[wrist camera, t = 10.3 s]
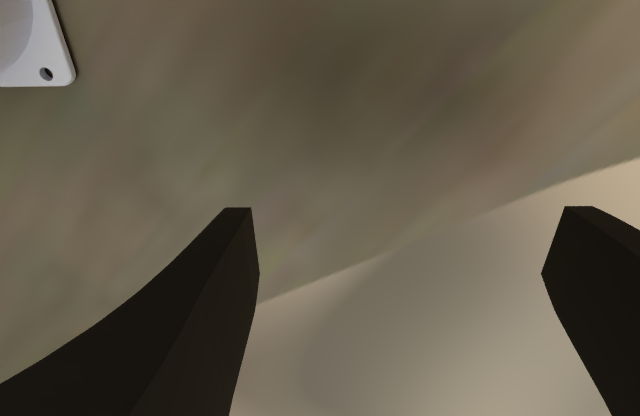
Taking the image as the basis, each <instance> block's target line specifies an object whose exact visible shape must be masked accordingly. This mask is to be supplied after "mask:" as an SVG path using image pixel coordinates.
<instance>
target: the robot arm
mask: <svg viewBox="0 0 640 416" xmlns="http://www.w3.org/2000/svg"><path fill="white" fill-rule="evenodd" d="M45 68H48V69H49V70H50V71H51V72H52V74H53V78H52V77H50V76H48V75H47V74H46V72H45ZM75 77H76V73H75V69H74V66H73V63H72V60H71V57H70V54H69V51H68V48H67V45H66V42H65V39H64V36H63V33H62V30H61V27H60V24H59V21H58V18H57V15H56V12H55V9H54V6H53V3H52V0H0V87H36V86H66V85H69V84H71V83H72V82H73V81H74V80H75ZM259 275H260V272H259V264H258V256H257V249H256V241H255V234H254V226H253V218H252V211H251V207H247V208H224V209H223V210H222V211H221V212H220V213H219V214H218V215H217V216H216V217H215V218H214V219H213V220H212V221H211V222H210V224H209V225H208V226H207V227H206V228H205V229H204V230H203V231H202V232H201V233H200V234H199V235H198V236H197V237H196V238H195V239H194V240H193V241H192V242H191V243H190V244H189V245H188V246H187V247H186V248H185V249H184V250H183V251H182V252H181V253H180V254H179V255H178V256H177V257H176V258H175V259H174V260H173V261H172V262H171V263H170V264H169V265H168V266H167V267H165V268H164V269H163V270H162V271H161V272H160V273H159V274H158V275H156V276H155V277H154V278H153V279H152V280H151V281H150V282H149V283H148V284H146V285H145V286H144V287H143V288H142V289H141V290H139V291H138V292H137V293H136V294H135V295H133V296H132V297H131V298H130V299H128V300H127V301H126V302H125V303H123V304H122V305H121V306H119V307H118V308H117V309H115V310H114V311H113V312H111V313H110V314H109V315H107V316H106V317H105V318H103V319H102V320H101V321H99V322H98V323H96V324H95V325H94V326H92V327H91V328H89V329H88V330H86V331H85V332H83V333H82V334H80V335H79V336H77V337H76V338H74V339H73V340H71V341H69V342H68V343H66V344H65V345H63V346H62V347H60V348H59V349H57V350H56V351H54V352H53V353H51V354H50V355H48V356H47V357H45V358H43V359H42V360H40V361H39V362H37V363H35V364H34V365H32V366H30V367H28V368H27V369H25V370H23V371H22V372H20V373H18V374H17V375H15V376H13V377H11V378H10V379H8V380H6V381H4V382H3V383H1V384H0V416H229V412H230V408H231V403H232V398H233V394H234V391H235V387H236V383H237V379H238V375H239V371H240V367H241V364H242V360H243V356H244V352H245V348H246V344H247V340H248V336H249V332H250V329H251V324H252V321H253V317H254V312H255V307H256V299H257V292H258V283H259ZM541 275H542V278H543V281H544V283H545V286H546V289H547V292H548V295H549V297H550V300H551V302H552V305H553V307H554V310H555V312H556V314H557V316H558V318H559V320H560V321H561V323H562V325H563V327H564V329H565V331H566V333H567V335H568V336H569V338H570V340H571V342H572V344H573V346H574V347H575V349H576V351H577V353H578V354H579V356H580V358H581V360H582V361H583V363H584V365H585V367H586V369H587V371H588V372H589V374H590V376H591V378H592V380H593V381H594V383H595V385H596V387H597V388H598V390H599V392H600V394H601V396H602V398H603V399H604V401H605V403H606V405H607V407H608V409H609V411H610V413H611V415H612V416H640V230H638V229H636V228H634V227H633V226H631V225H629V224H627V223H625V222H623V221H621V220H620V219H618V218H616V217H614V216H612V215H610V214H608V213H606V212H604V211H602V210H600V209H597V208H595V207H593V206H565V207H564V210H563V213H562V216H561V219H560V222H559V224H558V227H557V230H556V233H555V236H554V238H553V241H552V244H551V247H550V250H549V252H548V255H547V258H546V261H545V264H544V267H543V269H542V272H541Z"/></svg>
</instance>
